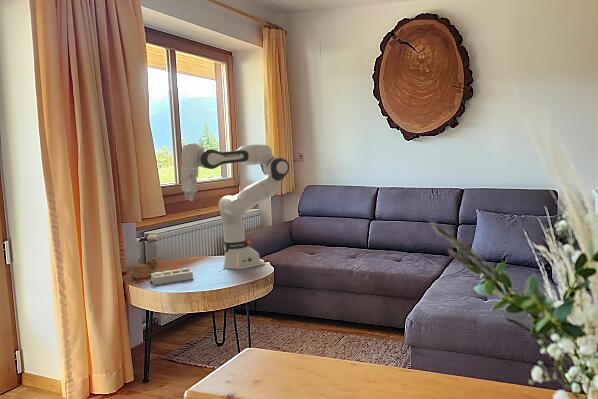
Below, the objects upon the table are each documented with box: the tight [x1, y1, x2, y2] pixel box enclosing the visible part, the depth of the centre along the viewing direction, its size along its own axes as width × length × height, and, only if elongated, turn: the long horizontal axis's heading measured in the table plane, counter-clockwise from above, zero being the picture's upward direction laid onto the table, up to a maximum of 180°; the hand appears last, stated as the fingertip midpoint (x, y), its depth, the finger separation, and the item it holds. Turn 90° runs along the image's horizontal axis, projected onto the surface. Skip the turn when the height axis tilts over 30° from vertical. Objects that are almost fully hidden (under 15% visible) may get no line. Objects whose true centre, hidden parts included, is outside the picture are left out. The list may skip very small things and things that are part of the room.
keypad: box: [150, 267, 194, 287], centre depth 258 cm, size 19×12×4 cm, turn 114°
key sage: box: [162, 270, 171, 275], centre depth 257 cm, size 3×3×3 cm
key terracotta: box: [171, 268, 180, 273], centre depth 259 cm, size 3×3×3 cm
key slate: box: [180, 267, 190, 272], centre depth 261 cm, size 3×3×3 cm
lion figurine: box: [130, 257, 159, 279], centre depth 271 cm, size 15×5×9 cm, turn 119°
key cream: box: [153, 271, 162, 276], centre depth 255 cm, size 3×3×3 cm
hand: (189, 200), depth 269 cm, fingers open, 8 cm apart
